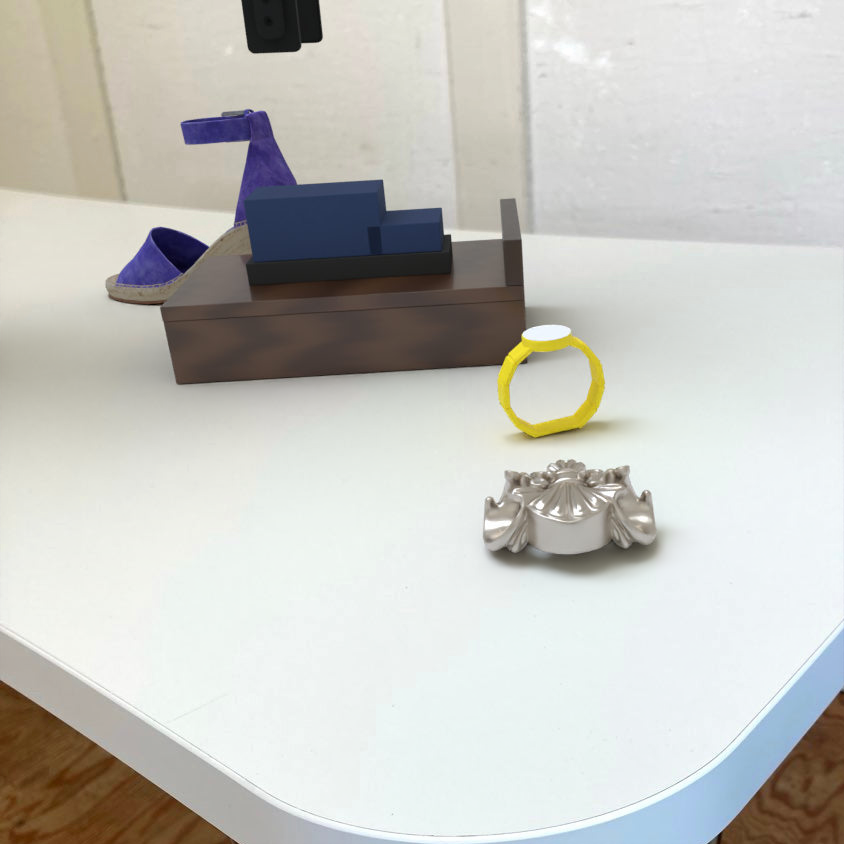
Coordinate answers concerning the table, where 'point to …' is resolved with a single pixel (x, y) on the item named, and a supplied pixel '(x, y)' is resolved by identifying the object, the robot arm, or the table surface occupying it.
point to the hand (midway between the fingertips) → (288, 47)
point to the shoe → (340, 234)
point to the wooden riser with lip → (350, 317)
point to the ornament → (568, 510)
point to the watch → (546, 341)
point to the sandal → (181, 253)
